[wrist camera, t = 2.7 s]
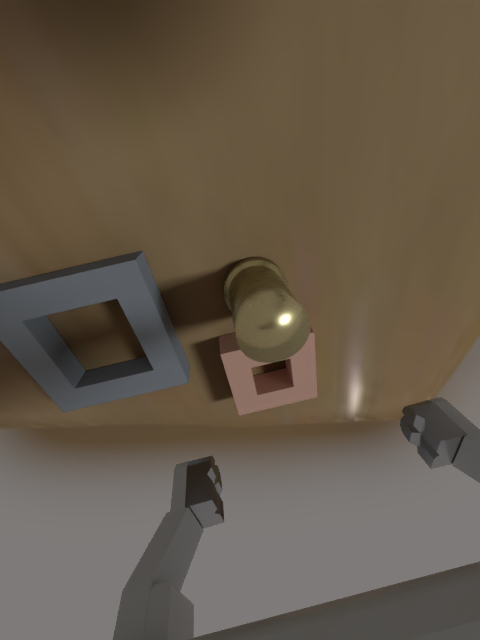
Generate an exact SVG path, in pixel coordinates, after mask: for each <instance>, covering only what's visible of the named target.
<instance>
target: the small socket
mask: <svg viewBox="0 0 480 640" xmlns="http://www.w3.org/2000/svg"><path fill="white" fill-rule="evenodd" d="M219 345H220V355H221V358H222V362H223V365H224V368H225V371H226V374H227V378H228V381H229V384H230V387H231V391H232V394H233V397H234V400H235V403H236V407H237V410H238V413H239V415H244V414H248V413H252V412H256V411H261V410H265V409H269V408H273V407H278V406H282V405H286V404H290V403H295V402H299V401H303V400H307V399H312V398H316V397H317V380H316V359H315V339H314V331H313V330H312V328H311V327H310V334H309V337H308V339H307V341H306V343H305V344H304V346H303V347H302V348H301V349H300V350H299V351H298V352H297V353H296V354H294V355H293V356H291V357H289V358H288V359H285V364H286V368H284V369H280V370H275V371H271V372H267V373H263V374H258V375H254V376H253V374H252V370H251V368H253V367H257V366H261V365H266V364H270V363H262V362H257V361H254V360H252V359H250V358H248V357H247V356H246V355H245V354H244V353H243V352H242V351H241V350H240V348H239V346H238V343H237V338H236V333H231V334H227V335H223V336H219Z"/></svg>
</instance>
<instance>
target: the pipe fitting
mask: <svg viewBox="0 0 480 640" xmlns="http://www.w3.org/2000/svg"><path fill="white" fill-rule="evenodd" d="M223 293H224V299H225V302H226V304H227V306H228V308H229V309H230V310H231V312H232V317H233V322H234V328H235V333H236V338H237V343H238V346H239V348H240V350H241V351H242V352H243V353H244V354H245V355H246V356H247V357H248V358H250V359H252V360H254V361H257V362H262V363H274V362H279V361H283V360H285V359H288V358H289V357H291V356H293V355H294V354H296V353H297V352H298V351H299V350H300V349H301V348H302V347H303V346H304V344H305V343H306V341H307V339H308V337H309V334H310V320H309V317H308V315H307V313H306V312H305V311H304V309H303V308H302V307H301V305H300V304H299V302H298V301H297V300H296V298H295V297H294V296H293V294H292V293H291V291H290V290H289V289H288V287H287V281H286V278H285V276H284V274H283V273H282V271H281V270H280V269H279V267H278V266H277V265H276V264H275V263H273V262H272V261H270V260H269V259H266V258H263V257H249V258H245V259H243V260H240V261H239V262H237V263H236V264H234V265H233V266H232V267H231V268H230V270H229V271H228V272H227V274H226V276H225V279H224V283H223Z"/></svg>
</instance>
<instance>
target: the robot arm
mask: <svg viewBox="0 0 480 640" xmlns="http://www.w3.org/2000/svg"><path fill="white" fill-rule="evenodd" d="M402 413H403V414H404V416H403V417H402V418H401V419H400V426H401V430H402V432H403V434H404V436H405V437H406V438H407V440H408V441H409V442H410V443H412V444H414V445H416V446H417V450H418V454H419V455H420V456H421V457H422V459H423V460H424V461H425V462H426V463H427V465H428V466H429V467H430V468H431V469H432V468H436V467H440V466H445V465H450V464H453V466H454V467H456V468H457V469H459V470H461V471H462V472H464V473H465V474H467V475H468V476H470V477H472V478H473V479H475V480H476V481H478V482H479V483H480V430H479V429H478V428H477V427H476V426H475V425H474V424H473V423H471V422H470V421H469V420H468V419H467V418H466V417H464V415H462V414H461V413H460V412H459V411H458V410H457V409H455V407H453V406H452V405H451V404H450V403H449V402H448V401H447V400H445V399H443V398H435V399H431V400H426V401H423V402H419V403H416V404H412V405H408V406H405V407H404V408H403V410H402ZM221 492H222V482H221V475H220V471H219V468H218V466H217V465H215V459H214V457H213V456H209V457H205V458H201V459H197V460H193V461H188V462H184V463H180V464H177V465H176V467H175V470H174V479H173V490H172V500H171V510H170V512H168V513H166V515H165V517H164V518H163V520H162V522H161V524H160V526H159V527H158V529H157V531H156V532H155V534H154V536H153V538H152V540H151V541H150V543H149V545H148V547H147V548H146V550H145V552H144V554H143V556H142V557H141V559H140V561H139V563H138V564H137V566H136V568H135V570H134V571H133V573H132V575H131V577H130V578H129V580H128V582H127V584H126V586H125V587H124V589H123V591H122V596H121V601H120V606H119V611H118V616H117V621H116V626H115V631H114V636H113V640H480V562H477V563H473V564H469V565H465V566H461V567H458V568H454V569H450V570H446V571H443V572H439V573H435V574H431V575H428V576H424V577H420V578H416V579H413V580H409V581H405V582H401V583H397V584H394V585H390V586H387V587H382V588H379V589H375V590H371V591H367V592H364V593H360V594H356V595H352V596H349V597H345V598H342V599H337V600H334V601H330V602H326V603H322V604H319V605H315V606H311V607H308V608H304V609H300V610H296V611H292V612H289V613H285V614H281V615H277V616H274V617H270V618H267V619H262V620H259V621H255V622H252V623H247V624H244V625H240V626H237V627H232V628H229V629H225V630H221V631H218V632H214V633H210V634H206V635H202V636H199V637H195V638H193V631H194V630H193V629H194V605H193V604H192V603H191V601H190V600H188V599H187V598H186V597H185V596H184V595H183V594H182V593H180V590H181V588H182V585H183V582H184V580H185V577H186V575H187V572H188V569H189V567H190V564H191V561H192V559H193V556H194V554H195V551H196V548H197V546H198V543H199V541H200V538H201V535H202V533H203V528H206V527H210V526H213V525H217V524H220V523H223V522H224V510H223V501H222V499H221V498H220V494H221Z"/></svg>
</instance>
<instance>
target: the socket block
mask: <svg viewBox="0 0 480 640" xmlns="http://www.w3.org/2000/svg"><path fill="white" fill-rule="evenodd" d="M113 299H117V300H118V301H119V303H120V305H121V307H122V309H123V311H124V313H125V315H126V317H127V319H128V321H129V323H130V325H131V327H132V329H133V331H134V332H135V334H136V336H137V338H138V340H139V342H140V344H141V346H142V348H143V350H144V352H145V354H146V356H147V357H143V358H139V359H135V360H130V361H126V362H122V363H118V364H113V365H109V366H105V367H101V368H96V369H92V370H88V371H85V370H84V368H83V367H82V365H81V364H80V363H79V361H78V360H77V358H76V357H75V356H74V354H73V353H72V351H71V350H70V349H69V347H68V346H67V344H66V343H65V342H64V340H63V339H62V337H61V336H60V335H59V333H58V332H57V330H56V329H55V328H54V326H53V325H52V323H51V322H50V321H49V319H48V318H47V316H46V315H49V314H54V313H58V312H62V311H66V310H71V309H75V308H79V307H84V306H88V305H92V304H96V303H101V302H105V301H109V300H113ZM0 341H1V342H2V343H3V345H4V346H5V347H6V348H7V349H8V350H9V351H10V352H11V354H12V355H13V356H14V357H15V358H16V359H17V360H18V361H19V363H20V364H21V365H22V366H23V367H24V368H25V369H26V371H27V372H28V373H29V374H30V375H31V376H32V377H33V378H34V380H35V381H36V382H37V383H38V384H39V385H40V386H41V388H42V389H43V390H44V391H45V392H46V393H47V394H48V395H49V397H50V398H51V399H52V400H53V401H54V402H55V403H56V404H57V406H58V407H59V408H60V409H61V410H62V411H63V412H67V411H72V410H76V409H80V408H84V407H89V406H93V405H97V404H101V403H106V402H110V401H114V400H118V399H123V398H127V397H131V396H135V395H140V394H144V393H148V392H152V391H157V390H161V389H165V388H169V387H174V386H178V385H182V384H186V383H189V372H190V366H189V363H188V361H187V358H186V356H185V353H184V351H183V348H182V346H181V343H180V341H179V339H178V336H177V334H176V331H175V329H174V326H173V324H172V321H171V319H170V316H169V314H168V312H167V309H166V307H165V304H164V302H163V299H162V297H161V294H160V292H159V290H158V287H157V285H156V282H155V280H154V277H153V275H152V272H151V270H150V267H149V265H148V263H147V260H146V258H145V255H144V253H143V251H140V252H136V253H132V254H127V255H123V256H119V257H114V258H110V259H106V260H102V261H97V262H93V263H89V264H85V265H80V266H76V267H72V268H68V269H63V270H59V271H55V272H50V273H46V274H42V275H38V276H33V277H29V278H25V279H21V280H16V281H12V282H8V283H4V284H0Z"/></svg>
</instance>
